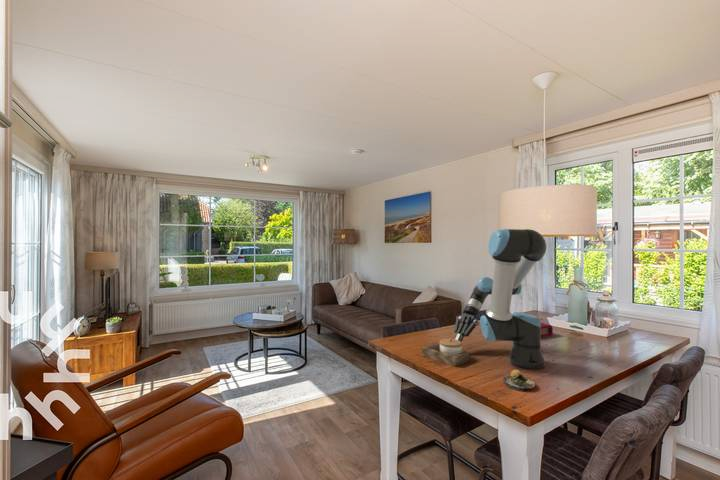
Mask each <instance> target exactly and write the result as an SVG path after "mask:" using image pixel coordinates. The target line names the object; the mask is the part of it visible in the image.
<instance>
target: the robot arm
mask: <svg viewBox="0 0 720 480" xmlns="http://www.w3.org/2000/svg"><path fill="white" fill-rule="evenodd" d="M487 247H488V252H489V255H490V256H491V259H493V261H494V262H495V263H494V270H493V279H492V278H490V277H489V276H484V277H482V278H480V279H479V281H478V283H477V284H476V285H475V286H474V288H473V289H472V293H471V294H470V297H469V298H468V300H467V303H466V305H465V306H464V309H463V311H462V314H461V315H459V316H457V315H456V316H455V319H456V320H455V325H454V329H453V332H454V333H455V336H454V337H453V339H455V340H459V341H461V342H463V339H464V338H466V337H467V338H468V337H469V336H471V335H470V334H471V333H472V332H473V331H474V330H475V328H476V327H477V326H478V325H480V330H481V332H482V335H483V338H485V340H486V341H491V342H512V346H511V349H510V353H509V355H508V362H510V364H512V365H514V366H517V367H520V368H525V369H530V370H531V369H532V370H534V369H535V370H536V369H543V368H545V366H546V362H545V361H546V360H545V358H544V355H543V351H542V349H541V348H542V347H541V341H542V339H541V338H542V337H541V324H540V323H541V319H540V317H538V316H536V315H534V314H530V313H525V312H519V311H516V312H515V311H514V312H513V313H511V306H512V305H511V304H512V297H513V296H515V295H520V293H521V292H522V282H523V281H524V279H525V278H526V276H528V274H529V273H530V271H531V270H532V269H533V267H534V266H535V264H536V263H537V262H540V261H541V260H542V259H543V257H544V256H545V254H546V251H547V243H546V240H545V238H544V236H543V234H541V233H540V232H538V231H536V230H534V229H529V228H528V229H526V228H525V229H520V228H519V229H515V228H510V229H509V228H505V229H504V228H503V229H496V230H494V231H493V232H492V233H491V235H490V237H489V238H488V246H487ZM489 295H490V306H489V308H488V309H486V311H485V315H481V316H480V317H479V321H480V322H479V321H478V320H477V318H478V316H479V313H480V311H481V309H482V307H483V304H484V303H485V301H486V298H487V297H488V296H489Z"/></svg>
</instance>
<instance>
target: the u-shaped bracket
mask: <svg viewBox="0 0 720 480" xmlns="http://www.w3.org/2000/svg"><path fill="white" fill-rule="evenodd" d="M421 356H422V357H424V356H425V357H424V358H427V357H428V358H427V359H430V358H431V359H430V360H433V361H436V360H437V362H439V361H440V362H439V363H442V362H443V363H442V364H445V363H446V365H448V364H449V365H448V366H451V365H452V367H454V366H456V367H457V366H460V365H462V364H465V363H467V362H469V361H470V352H469V351H463V352H462V351H461V353H460V354H457V355H455V356H452V355H449V354H446V353H443V352H441V351H440V343H438V342H434V343H433V344H430V345H427V346H424V347H421Z"/></svg>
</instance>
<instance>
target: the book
mask: <svg viewBox="0 0 720 480" xmlns="http://www.w3.org/2000/svg"><path fill="white" fill-rule="evenodd" d="M540 324H541V338H546V337H551V336H553V333H554V331H553V329H554V327H553V325H551V324H547V323H543V322H540Z"/></svg>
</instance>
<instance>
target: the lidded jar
mask: <svg viewBox="0 0 720 480" xmlns="http://www.w3.org/2000/svg"><path fill="white" fill-rule="evenodd" d="M462 342H463V341H462ZM462 342H461V341H459V340H455V339H454V338H451V337H450V338H442V339H440V340H439V352H443V353H446V354H449V355H452V356H455V355H457V354H460V353H462V348H463V347H462V346H463V343H462Z"/></svg>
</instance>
